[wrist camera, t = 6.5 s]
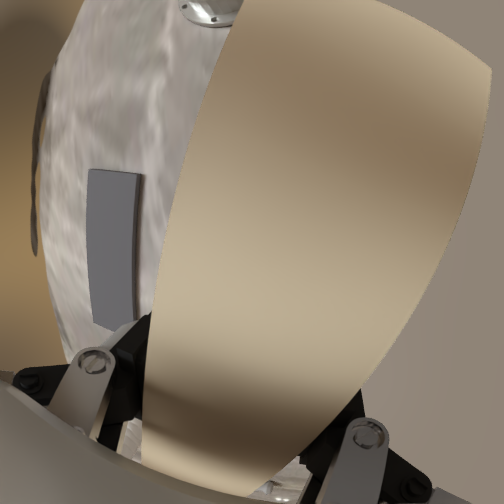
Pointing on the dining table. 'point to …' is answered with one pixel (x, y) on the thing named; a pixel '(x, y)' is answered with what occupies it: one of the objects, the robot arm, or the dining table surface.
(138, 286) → the dining table surface
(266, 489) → the smooth white sculpture
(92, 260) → the tool pad
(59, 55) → the dining table surface
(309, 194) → the grooved wooden block
